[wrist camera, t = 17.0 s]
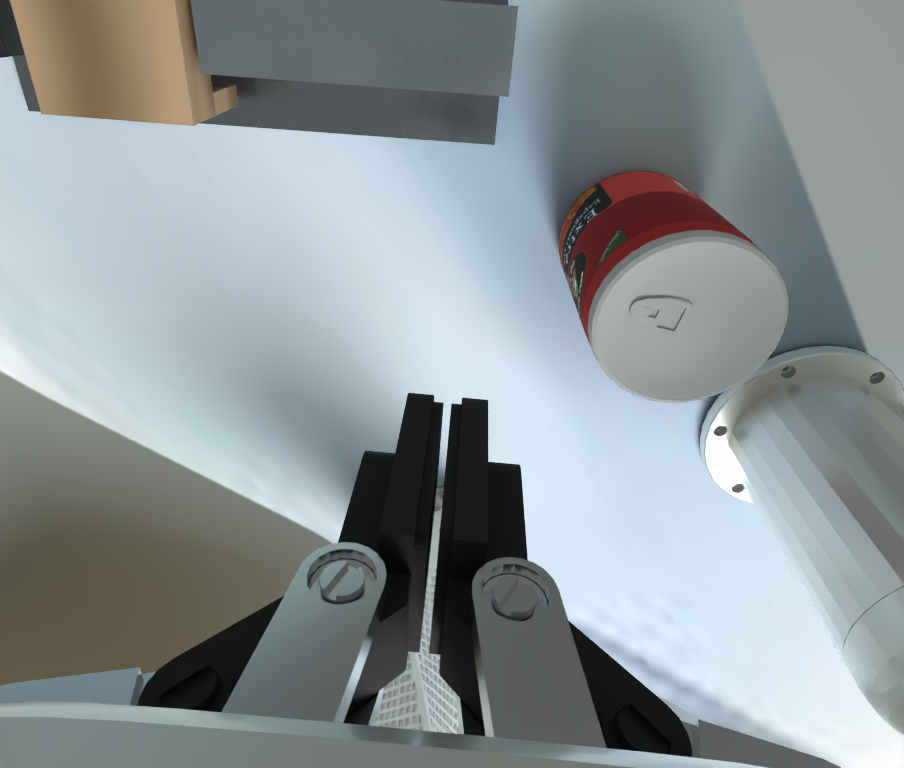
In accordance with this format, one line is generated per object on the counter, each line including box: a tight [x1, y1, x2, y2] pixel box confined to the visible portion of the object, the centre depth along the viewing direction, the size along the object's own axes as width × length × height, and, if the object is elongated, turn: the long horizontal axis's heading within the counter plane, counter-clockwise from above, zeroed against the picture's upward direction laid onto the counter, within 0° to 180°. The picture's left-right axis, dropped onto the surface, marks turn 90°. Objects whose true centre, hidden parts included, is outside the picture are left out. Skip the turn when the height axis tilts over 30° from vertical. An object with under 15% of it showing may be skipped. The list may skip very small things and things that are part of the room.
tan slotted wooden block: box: [10, 0, 238, 126], centre depth 24 cm, size 6×6×6 cm
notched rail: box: [0, 0, 518, 145], centre depth 25 cm, size 24×9×7 cm, turn 86°
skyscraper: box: [374, 487, 459, 734], centre depth 35 cm, size 8×8×28 cm
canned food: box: [559, 171, 789, 402], centre depth 29 cm, size 8×8×11 cm
